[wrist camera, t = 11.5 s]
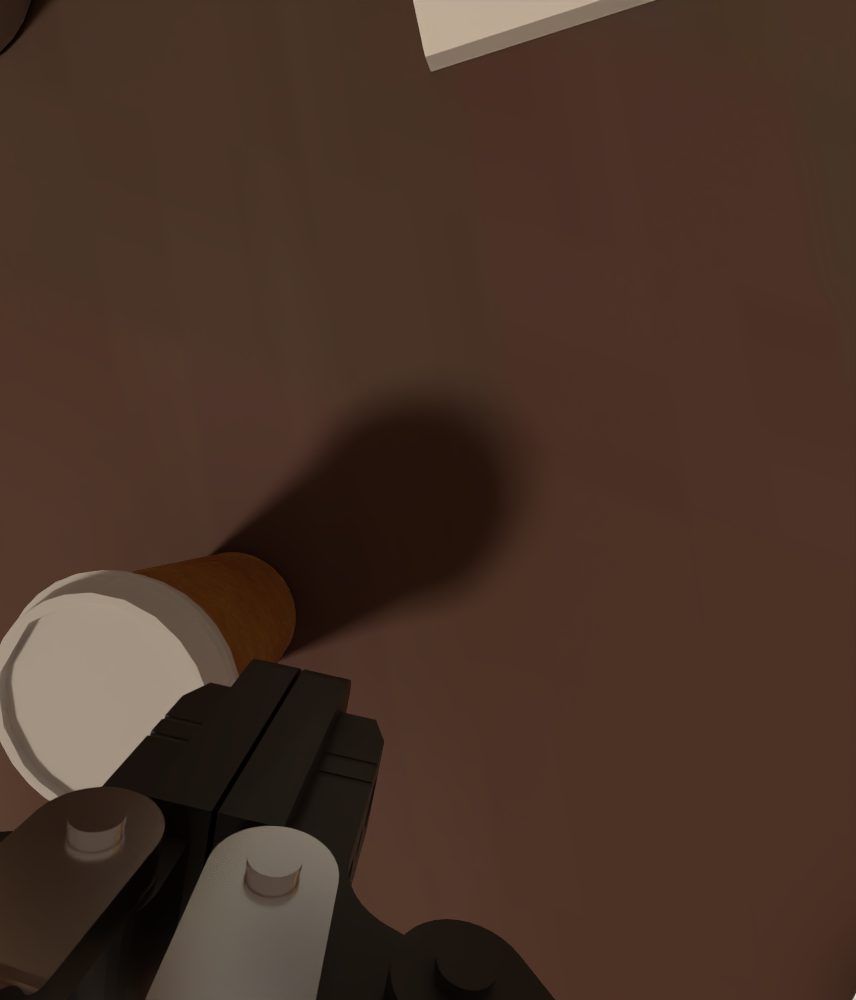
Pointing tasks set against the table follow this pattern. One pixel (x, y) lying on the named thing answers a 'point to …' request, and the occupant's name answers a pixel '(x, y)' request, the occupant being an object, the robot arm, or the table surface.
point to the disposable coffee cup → (129, 659)
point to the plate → (853, 996)
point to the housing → (499, 24)
